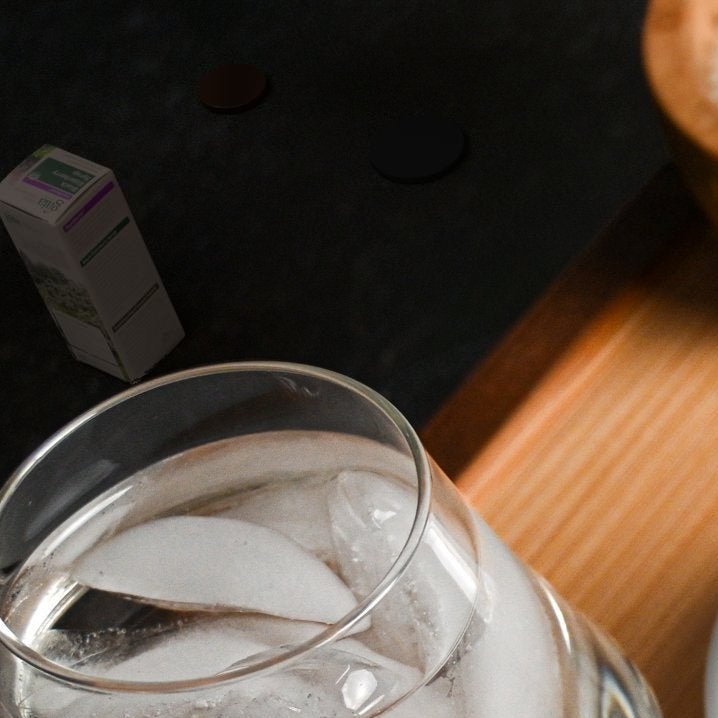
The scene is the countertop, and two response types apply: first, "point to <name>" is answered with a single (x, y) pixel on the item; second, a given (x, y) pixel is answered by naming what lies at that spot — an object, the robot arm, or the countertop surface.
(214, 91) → the back coaster
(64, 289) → the syrup box
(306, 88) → the countertop surface
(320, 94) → the countertop surface
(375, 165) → the side coaster
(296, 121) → the countertop surface
